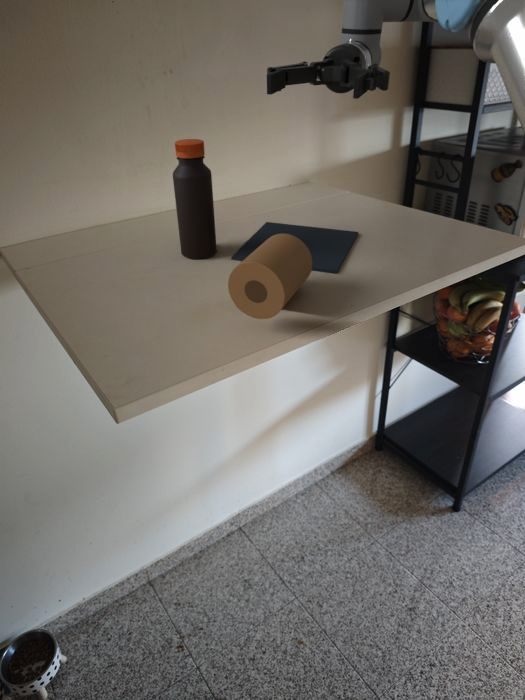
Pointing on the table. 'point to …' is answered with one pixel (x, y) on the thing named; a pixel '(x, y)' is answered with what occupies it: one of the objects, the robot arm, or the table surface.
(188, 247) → the bottle
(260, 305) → the paper roll
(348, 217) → the table surface
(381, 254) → the table surface
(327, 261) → the slate mat
